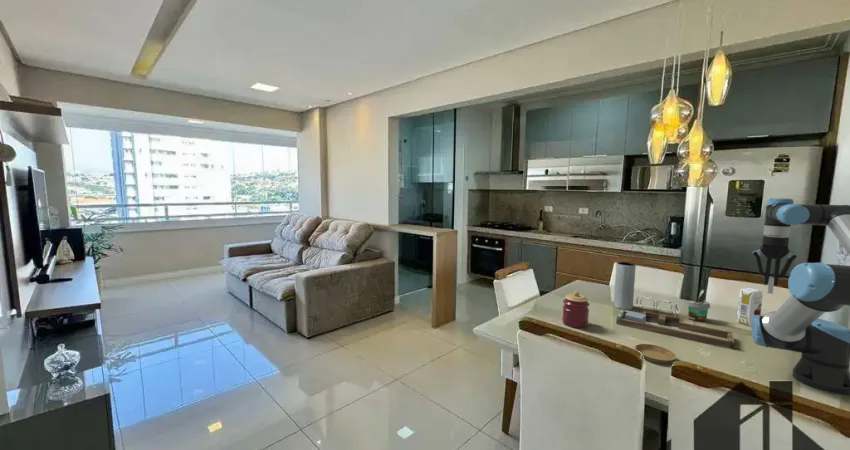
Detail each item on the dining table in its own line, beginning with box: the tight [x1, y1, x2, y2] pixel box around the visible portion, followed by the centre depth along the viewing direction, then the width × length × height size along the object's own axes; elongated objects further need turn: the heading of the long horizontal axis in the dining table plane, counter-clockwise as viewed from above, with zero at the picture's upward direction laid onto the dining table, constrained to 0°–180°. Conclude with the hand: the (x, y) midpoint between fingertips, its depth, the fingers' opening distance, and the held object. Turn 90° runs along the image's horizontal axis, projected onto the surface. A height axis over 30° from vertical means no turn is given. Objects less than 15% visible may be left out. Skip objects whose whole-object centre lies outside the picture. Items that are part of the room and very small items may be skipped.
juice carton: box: [736, 287, 763, 328], centre depth 184 cm, size 8×9×19 cm
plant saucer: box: [634, 343, 677, 364], centre depth 148 cm, size 15×15×3 cm
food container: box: [687, 300, 711, 323], centre depth 188 cm, size 12×6×10 cm, turn 105°
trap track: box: [615, 309, 735, 350], centre depth 178 cm, size 22×47×4 cm, turn 52°
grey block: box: [624, 310, 647, 324], centre depth 184 cm, size 8×8×5 cm
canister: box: [561, 291, 590, 329], centre depth 183 cm, size 13×13×18 cm
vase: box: [613, 261, 637, 311], centre depth 209 cm, size 10×10×27 cm
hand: (769, 292), depth 142 cm, fingers closed
